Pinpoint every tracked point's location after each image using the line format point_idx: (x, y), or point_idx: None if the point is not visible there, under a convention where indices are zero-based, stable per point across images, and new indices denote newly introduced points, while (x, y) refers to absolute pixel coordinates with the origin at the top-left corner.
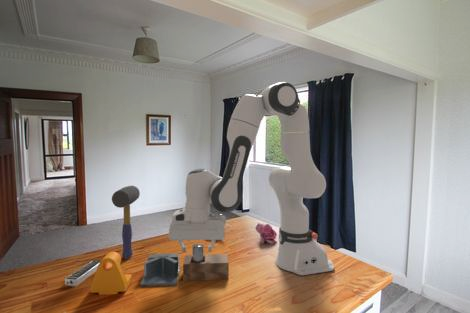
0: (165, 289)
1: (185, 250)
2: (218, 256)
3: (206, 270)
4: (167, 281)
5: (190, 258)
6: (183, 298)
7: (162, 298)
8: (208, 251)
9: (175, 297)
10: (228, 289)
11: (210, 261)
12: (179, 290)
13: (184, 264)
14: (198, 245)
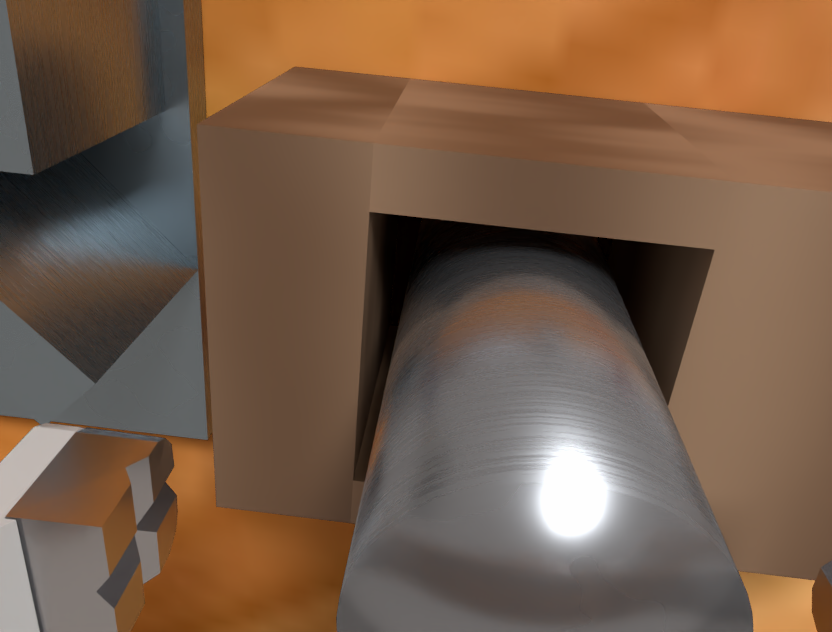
0: None
1: (151, 571)
2: None
3: None
4: (89, 404)
5: (346, 310)
6: (325, 623)
7: None
8: (824, 590)
9: (247, 598)
10: (811, 596)
11: (761, 509)
12: None
13: (243, 507)
14: (562, 621)
